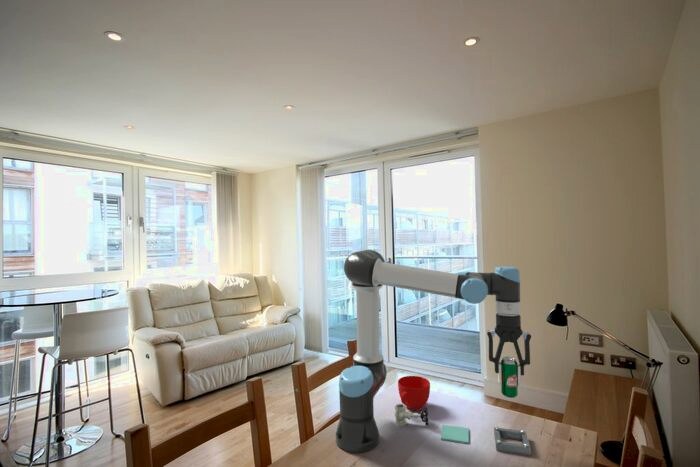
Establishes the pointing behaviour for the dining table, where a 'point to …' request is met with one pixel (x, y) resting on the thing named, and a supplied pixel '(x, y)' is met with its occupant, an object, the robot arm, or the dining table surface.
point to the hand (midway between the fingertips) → (509, 383)
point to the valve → (408, 415)
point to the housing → (512, 447)
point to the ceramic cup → (414, 391)
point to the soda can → (509, 377)
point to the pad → (455, 434)
